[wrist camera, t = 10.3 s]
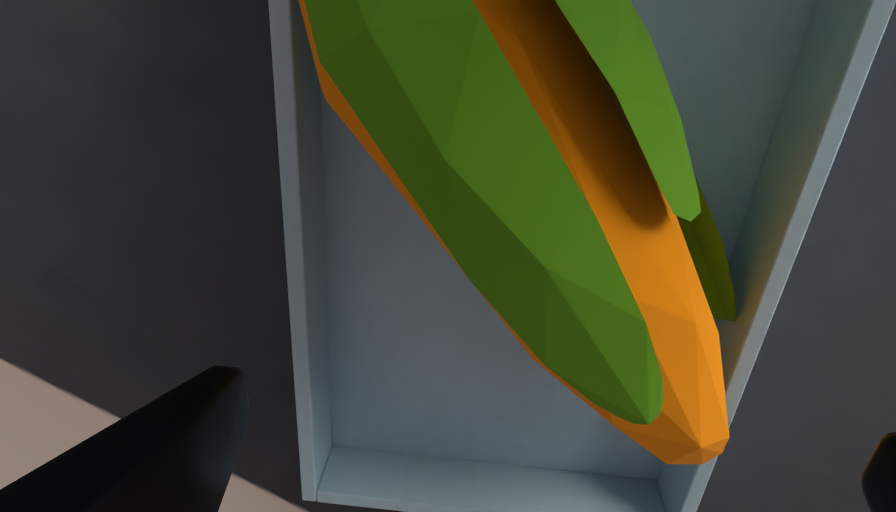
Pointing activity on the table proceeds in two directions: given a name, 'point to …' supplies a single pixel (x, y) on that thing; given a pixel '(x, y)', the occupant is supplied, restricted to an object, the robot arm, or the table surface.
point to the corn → (551, 190)
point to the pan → (479, 327)
